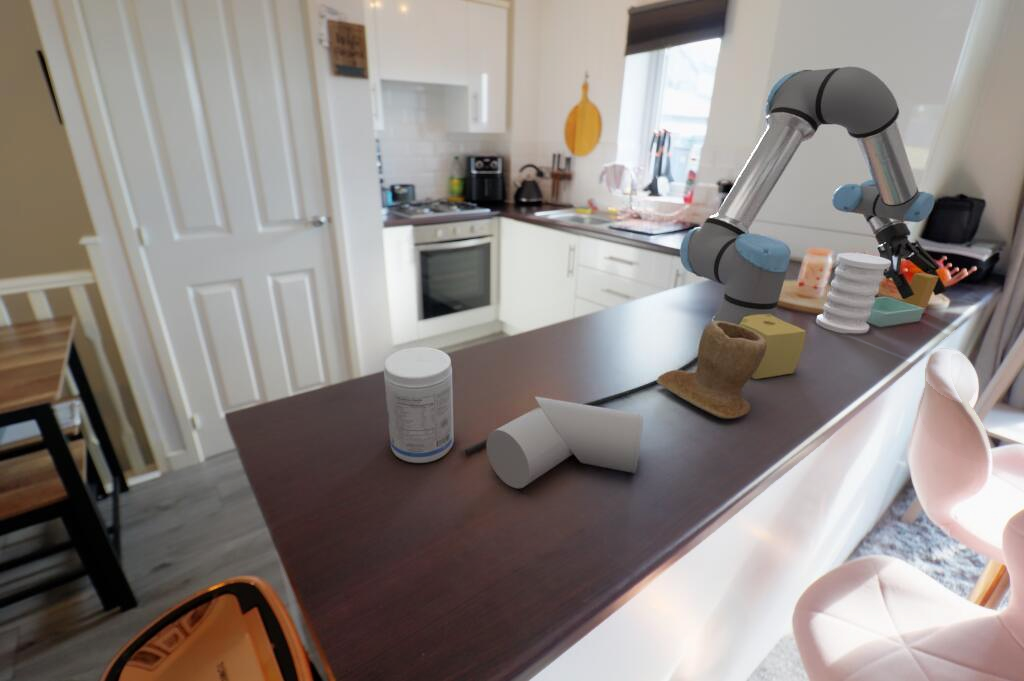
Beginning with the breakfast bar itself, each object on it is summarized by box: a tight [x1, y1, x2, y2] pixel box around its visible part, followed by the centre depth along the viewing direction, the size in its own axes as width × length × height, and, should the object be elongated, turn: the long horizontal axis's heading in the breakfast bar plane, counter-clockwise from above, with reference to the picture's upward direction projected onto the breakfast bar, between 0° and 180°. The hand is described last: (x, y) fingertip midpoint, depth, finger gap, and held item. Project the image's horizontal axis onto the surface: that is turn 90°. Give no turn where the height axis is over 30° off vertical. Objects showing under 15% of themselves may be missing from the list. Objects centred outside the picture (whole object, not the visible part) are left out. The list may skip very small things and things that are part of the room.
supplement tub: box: [383, 346, 454, 464], centre depth 70 cm, size 10×10×15 cm
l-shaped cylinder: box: [485, 396, 644, 489], centre depth 68 cm, size 18×11×20 cm
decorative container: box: [815, 252, 891, 335], centre depth 121 cm, size 12×12×18 cm
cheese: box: [739, 314, 807, 380], centre depth 99 cm, size 10×11×10 cm
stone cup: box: [656, 321, 766, 420], centre depth 85 cm, size 15×12×15 cm
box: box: [866, 295, 924, 328], centre depth 129 cm, size 15×10×4 cm
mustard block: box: [902, 272, 940, 314], centre depth 133 cm, size 4×4×11 cm
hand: (925, 295), depth 132 cm, fingers open, 13 cm apart
